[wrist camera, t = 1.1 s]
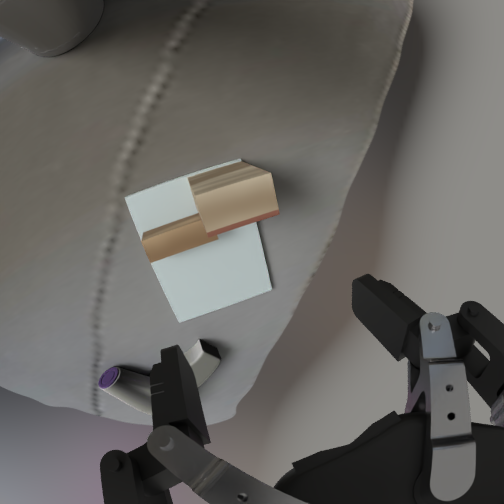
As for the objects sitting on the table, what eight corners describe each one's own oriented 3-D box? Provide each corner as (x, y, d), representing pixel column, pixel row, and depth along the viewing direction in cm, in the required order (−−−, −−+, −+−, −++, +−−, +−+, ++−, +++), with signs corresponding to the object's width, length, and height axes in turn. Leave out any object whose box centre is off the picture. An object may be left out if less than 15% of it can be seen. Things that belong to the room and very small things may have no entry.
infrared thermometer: (221, 345, 38) (164, 403, 38) (148, 305, 32) (97, 374, 33) (229, 367, 33) (168, 424, 34) (149, 327, 28) (95, 397, 28)
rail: (143, 232, 26) (141, 241, 24) (208, 209, 27) (211, 216, 25) (151, 253, 27) (150, 263, 25) (214, 230, 28) (218, 239, 26)
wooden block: (187, 177, 25) (195, 195, 18) (241, 161, 26) (271, 172, 19) (196, 207, 27) (208, 237, 19) (248, 191, 28) (279, 214, 20)
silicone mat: (125, 196, 25) (124, 198, 24) (239, 158, 27) (241, 159, 26) (178, 319, 32) (179, 322, 32) (270, 287, 34) (272, 289, 34)
